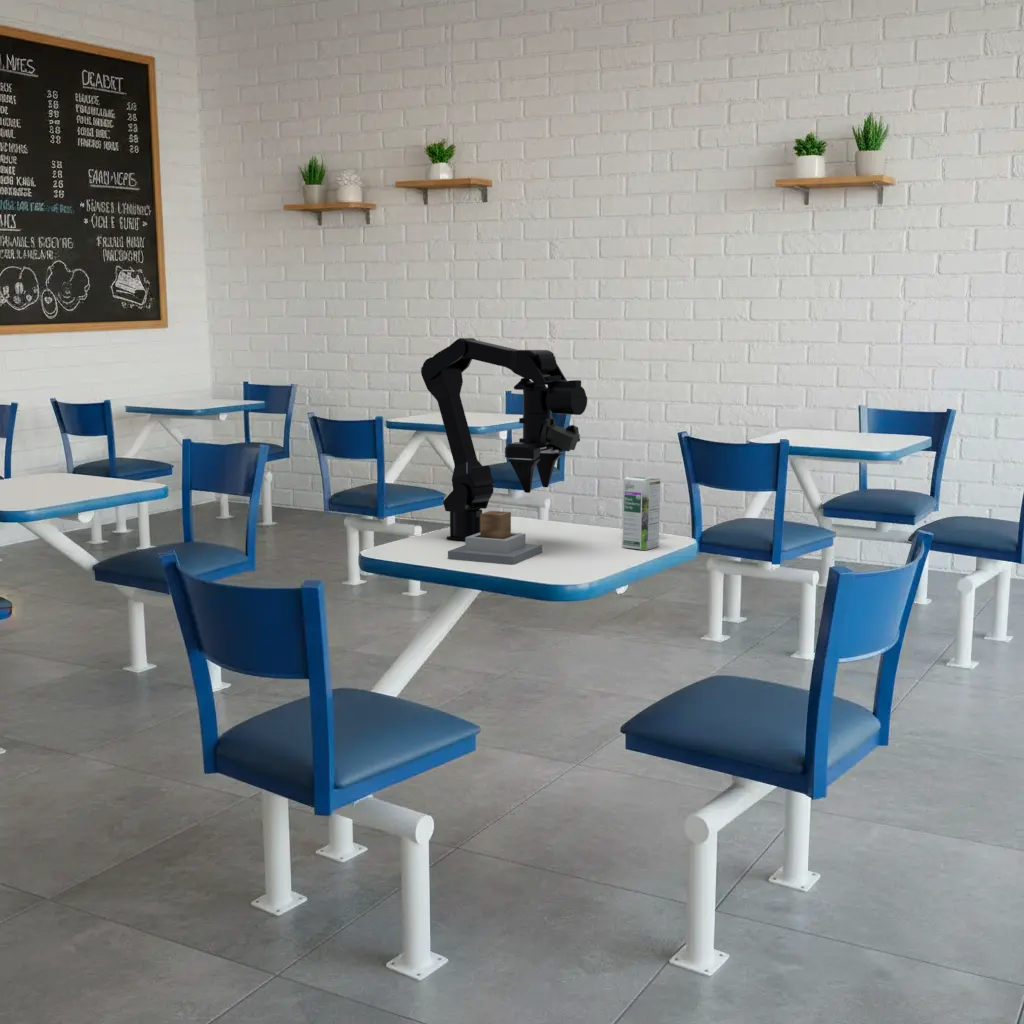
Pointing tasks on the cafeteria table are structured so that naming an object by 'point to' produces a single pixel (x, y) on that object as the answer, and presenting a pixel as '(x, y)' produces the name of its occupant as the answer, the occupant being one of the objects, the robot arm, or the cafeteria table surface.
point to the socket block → (495, 549)
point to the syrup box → (641, 512)
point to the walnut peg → (495, 525)
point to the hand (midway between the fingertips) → (536, 489)
